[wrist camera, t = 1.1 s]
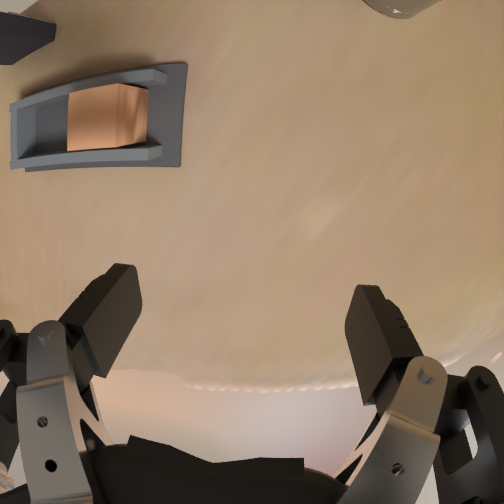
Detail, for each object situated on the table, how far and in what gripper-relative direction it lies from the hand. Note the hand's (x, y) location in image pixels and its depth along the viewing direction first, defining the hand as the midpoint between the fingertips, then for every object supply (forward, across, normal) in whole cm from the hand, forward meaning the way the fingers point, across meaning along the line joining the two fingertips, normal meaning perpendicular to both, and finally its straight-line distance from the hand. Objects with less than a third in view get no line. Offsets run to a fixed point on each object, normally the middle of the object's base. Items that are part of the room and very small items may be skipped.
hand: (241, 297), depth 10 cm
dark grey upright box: (+23, +36, -22) cm, 48 cm away
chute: (+22, +22, -7) cm, 32 cm away
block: (+21, +16, -7) cm, 27 cm away
